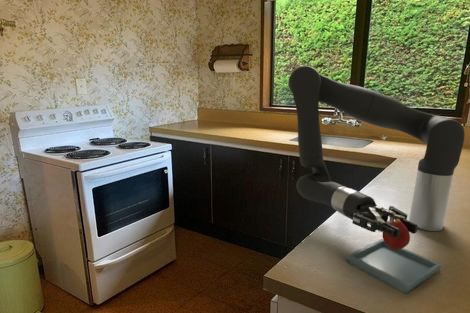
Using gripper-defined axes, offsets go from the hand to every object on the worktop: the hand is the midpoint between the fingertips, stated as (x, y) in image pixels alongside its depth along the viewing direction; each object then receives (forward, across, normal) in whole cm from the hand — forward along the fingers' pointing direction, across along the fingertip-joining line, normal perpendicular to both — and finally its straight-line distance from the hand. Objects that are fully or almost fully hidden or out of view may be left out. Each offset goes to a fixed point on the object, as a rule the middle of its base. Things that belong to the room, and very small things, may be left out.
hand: (407, 231), depth 77 cm
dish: (-2, 0, +10) cm, 11 cm away
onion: (-3, 0, +6) cm, 7 cm away
